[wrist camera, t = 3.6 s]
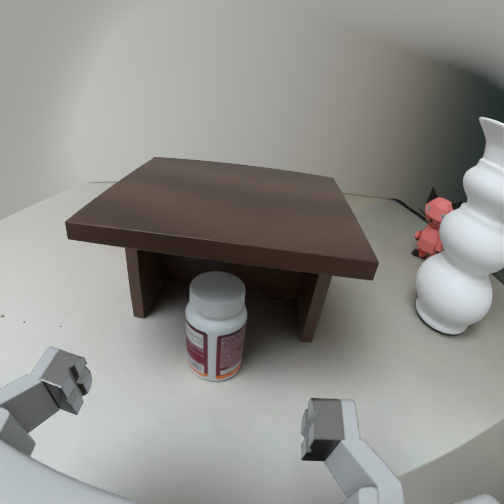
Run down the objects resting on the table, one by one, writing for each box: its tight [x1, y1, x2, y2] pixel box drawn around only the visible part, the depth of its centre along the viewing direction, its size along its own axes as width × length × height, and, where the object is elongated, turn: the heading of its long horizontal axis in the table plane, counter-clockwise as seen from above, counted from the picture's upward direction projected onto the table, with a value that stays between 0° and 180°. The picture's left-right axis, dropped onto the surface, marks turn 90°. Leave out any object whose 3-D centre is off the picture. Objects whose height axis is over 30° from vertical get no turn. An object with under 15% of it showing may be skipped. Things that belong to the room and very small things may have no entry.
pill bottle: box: [185, 271, 247, 381], centre depth 25 cm, size 5×5×8 cm
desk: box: [65, 157, 379, 342], centre depth 27 cm, size 16×18×14 cm
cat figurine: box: [412, 188, 462, 260], centre depth 46 cm, size 7×7×12 cm
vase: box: [416, 117, 504, 335], centre depth 29 cm, size 11×11×25 cm
